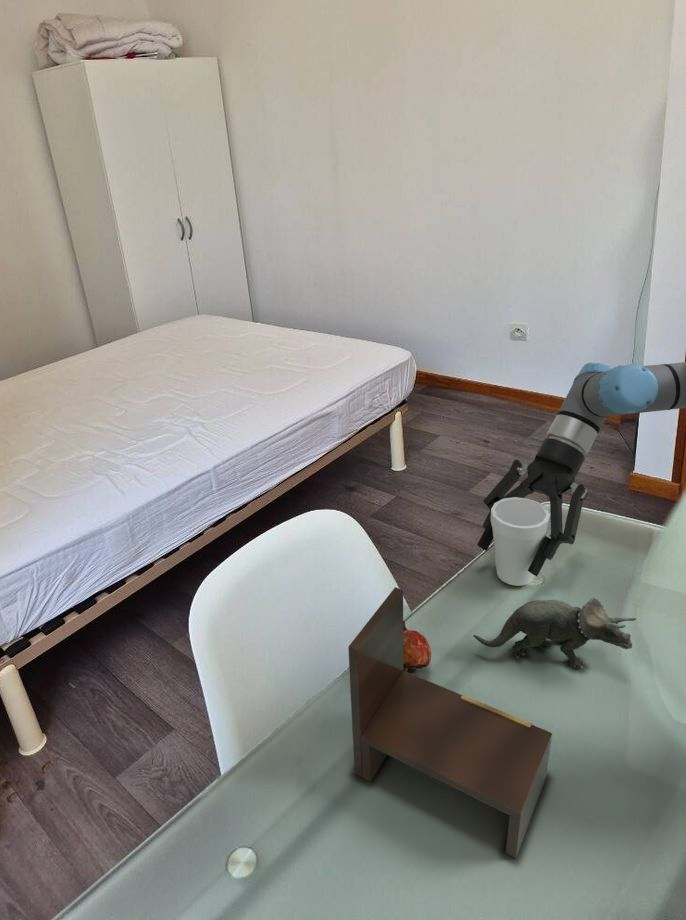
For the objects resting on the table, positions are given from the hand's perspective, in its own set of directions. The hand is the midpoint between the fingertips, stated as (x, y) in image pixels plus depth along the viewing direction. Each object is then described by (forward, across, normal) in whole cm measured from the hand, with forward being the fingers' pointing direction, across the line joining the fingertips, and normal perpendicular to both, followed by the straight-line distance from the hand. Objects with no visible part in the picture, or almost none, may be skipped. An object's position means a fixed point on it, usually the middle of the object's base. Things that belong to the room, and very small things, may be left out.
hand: (506, 560), depth 118 cm
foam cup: (+1, 0, -6) cm, 6 cm away
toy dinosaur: (+10, -14, +2) cm, 17 cm away
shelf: (+29, -17, +21) cm, 40 cm away
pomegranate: (+23, -1, +15) cm, 27 cm away
